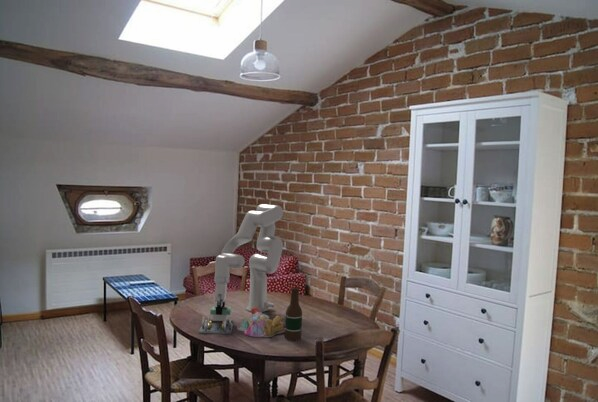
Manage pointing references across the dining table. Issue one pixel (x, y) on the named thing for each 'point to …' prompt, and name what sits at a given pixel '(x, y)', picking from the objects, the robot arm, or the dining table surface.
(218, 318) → the white rectangular block
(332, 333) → the dining table surface
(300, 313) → the beer bottle
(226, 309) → the board
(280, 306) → the dining table surface
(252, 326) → the pastel sphere sculpture
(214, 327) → the chassis
